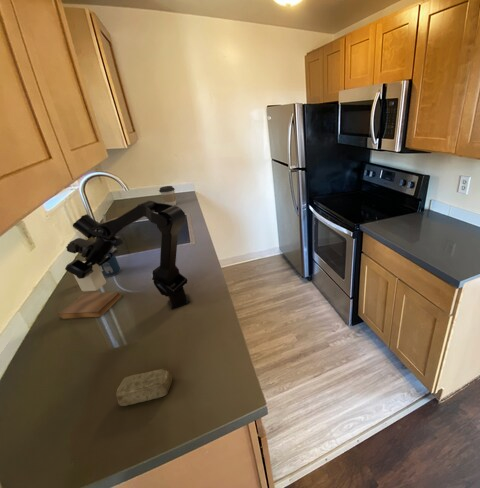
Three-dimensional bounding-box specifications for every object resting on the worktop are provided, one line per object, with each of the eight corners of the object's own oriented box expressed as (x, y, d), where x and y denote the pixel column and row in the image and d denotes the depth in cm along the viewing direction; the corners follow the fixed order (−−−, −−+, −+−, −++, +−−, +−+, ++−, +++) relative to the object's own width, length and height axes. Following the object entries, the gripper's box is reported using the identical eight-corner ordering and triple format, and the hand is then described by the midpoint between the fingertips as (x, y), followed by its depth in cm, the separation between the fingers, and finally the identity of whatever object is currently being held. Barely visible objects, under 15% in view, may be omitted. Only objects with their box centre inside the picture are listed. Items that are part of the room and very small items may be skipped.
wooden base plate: (122, 296, 112) (120, 291, 111) (101, 316, 100) (98, 311, 99) (86, 298, 111) (83, 293, 110) (61, 319, 100) (57, 313, 99)
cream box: (106, 282, 110) (96, 260, 105) (96, 290, 105) (85, 267, 100) (92, 283, 109) (81, 261, 105) (82, 291, 105) (70, 268, 100)
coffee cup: (181, 204, 229) (176, 186, 222) (166, 208, 221) (161, 189, 215) (175, 202, 236) (170, 184, 229) (161, 205, 229) (156, 187, 222)
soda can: (116, 268, 134) (107, 245, 128) (124, 271, 130) (114, 248, 125) (100, 274, 128) (90, 252, 123) (108, 278, 125) (97, 255, 120)
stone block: (169, 396, 70) (163, 383, 68) (118, 410, 68) (110, 396, 65) (174, 377, 75) (168, 364, 73) (127, 389, 73) (120, 376, 70)
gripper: (98, 222, 106) (81, 250, 110) (57, 243, 89) (39, 274, 93) (126, 240, 109) (108, 266, 114) (92, 263, 92) (73, 292, 97)
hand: (84, 273), depth 104 cm, fingers closed on cream box, 5 cm apart
